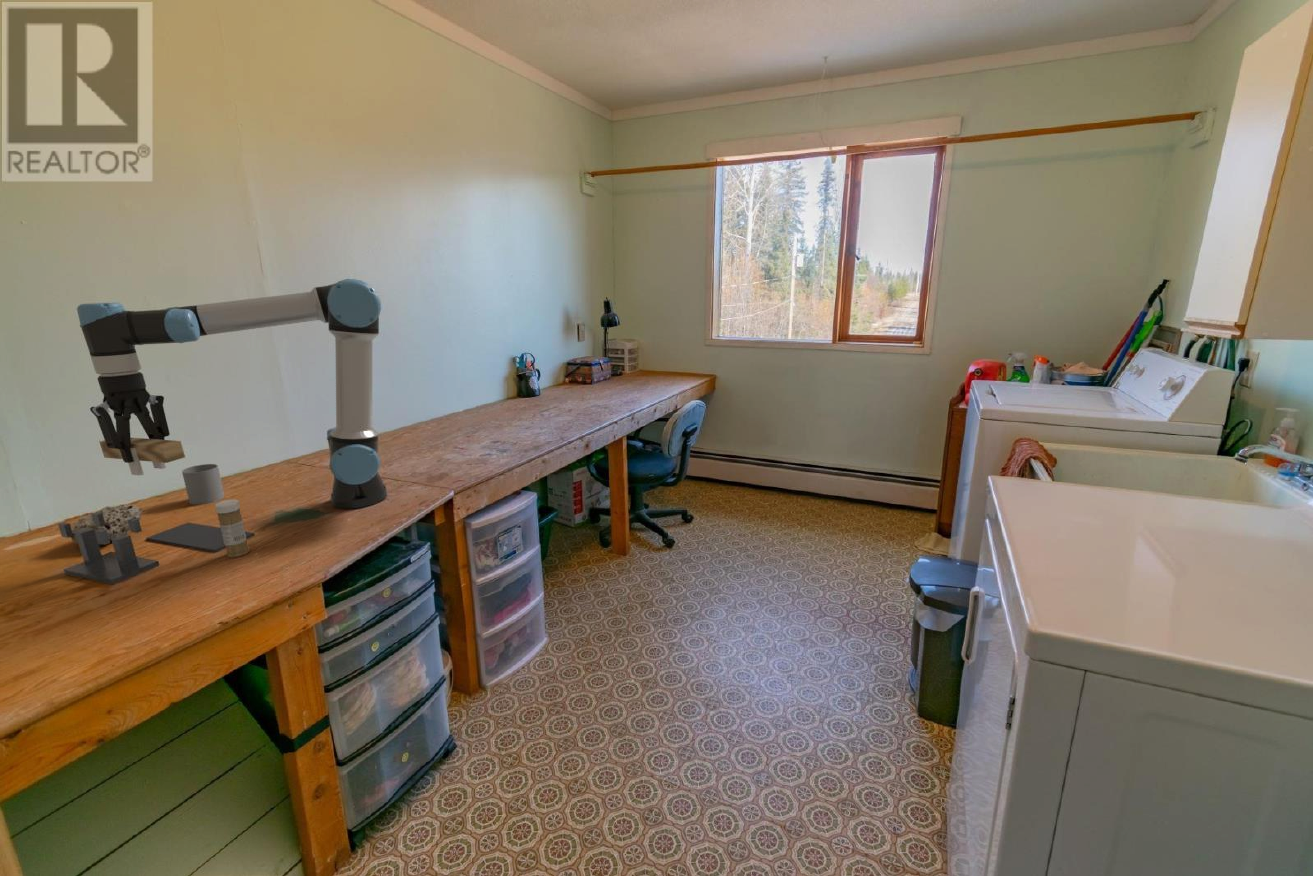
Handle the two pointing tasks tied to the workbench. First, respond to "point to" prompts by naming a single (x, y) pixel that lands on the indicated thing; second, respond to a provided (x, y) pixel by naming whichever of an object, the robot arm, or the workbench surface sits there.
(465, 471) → the workbench surface
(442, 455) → the workbench surface
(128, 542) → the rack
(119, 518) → the pumice stone
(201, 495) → the cup
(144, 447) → the rail
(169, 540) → the mat
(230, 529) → the sprinkles bottle
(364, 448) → the robot arm
